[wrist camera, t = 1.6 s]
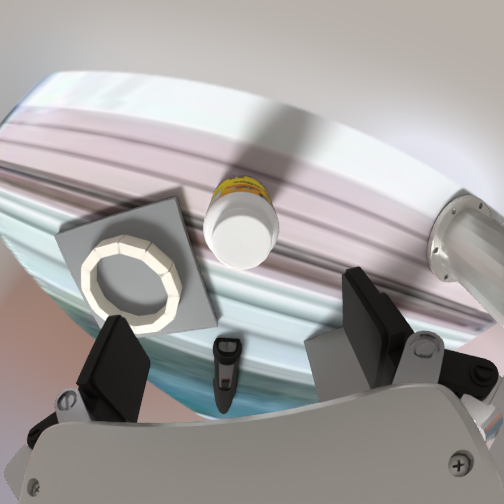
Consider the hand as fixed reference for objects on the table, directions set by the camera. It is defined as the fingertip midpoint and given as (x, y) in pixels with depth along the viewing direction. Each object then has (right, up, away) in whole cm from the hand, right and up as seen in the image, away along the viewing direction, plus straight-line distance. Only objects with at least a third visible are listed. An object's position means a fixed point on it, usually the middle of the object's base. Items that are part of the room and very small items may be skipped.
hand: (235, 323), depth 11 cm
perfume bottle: (+12, -11, +26) cm, 31 cm away
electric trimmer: (-3, -15, +28) cm, 31 cm away
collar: (-13, 0, +19) cm, 23 cm away
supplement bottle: (0, +8, +16) cm, 18 cm away
